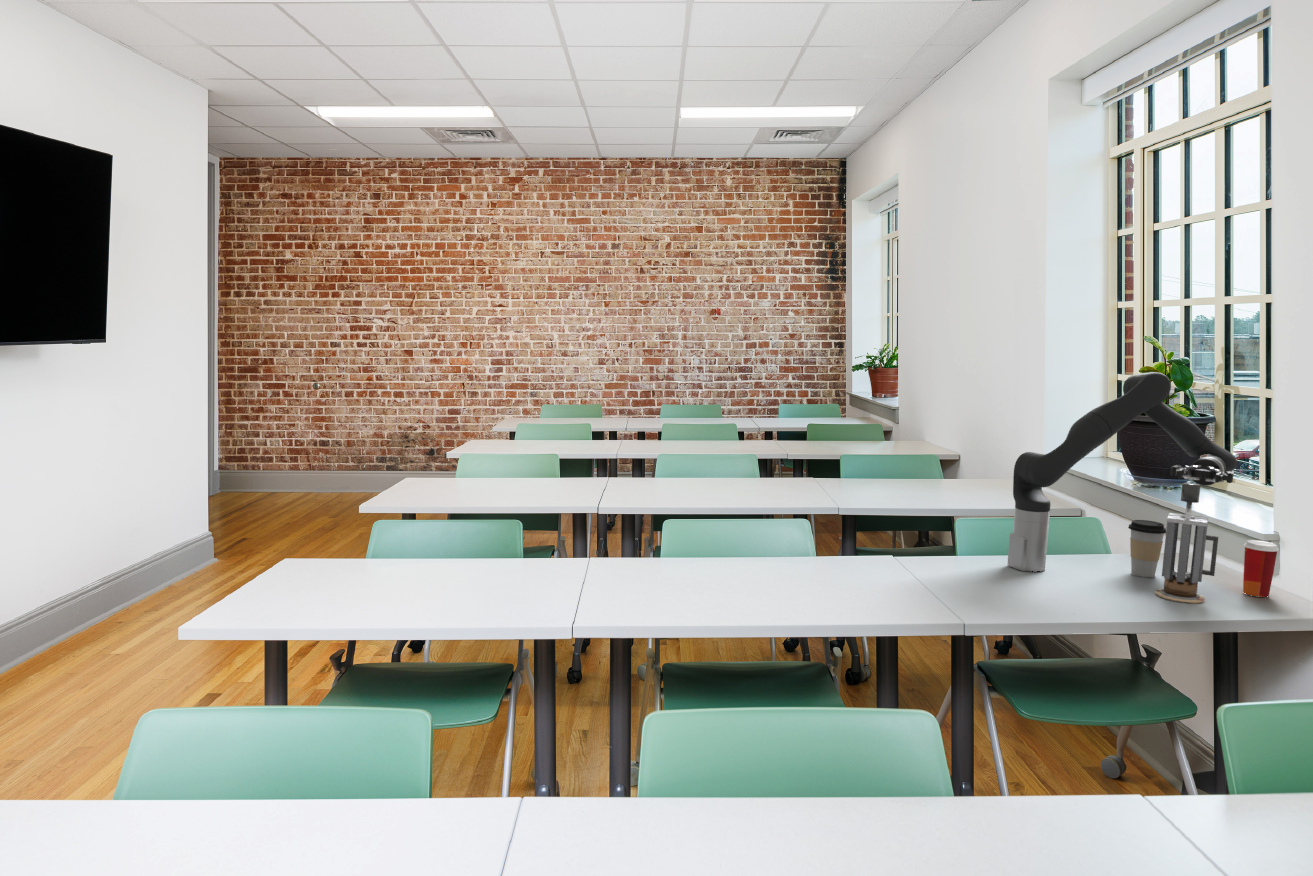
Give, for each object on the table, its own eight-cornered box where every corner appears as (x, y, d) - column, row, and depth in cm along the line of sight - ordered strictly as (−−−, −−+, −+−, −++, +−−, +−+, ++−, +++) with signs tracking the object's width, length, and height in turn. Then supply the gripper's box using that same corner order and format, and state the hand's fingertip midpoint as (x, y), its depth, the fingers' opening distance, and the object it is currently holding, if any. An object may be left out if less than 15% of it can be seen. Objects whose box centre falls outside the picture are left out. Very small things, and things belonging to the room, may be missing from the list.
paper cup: (1267, 592, 233) (1274, 541, 232) (1277, 600, 226) (1283, 547, 225) (1234, 589, 236) (1239, 538, 234) (1242, 596, 229) (1248, 544, 227)
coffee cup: (1166, 580, 243) (1172, 527, 241) (1130, 577, 244) (1135, 525, 243) (1154, 571, 252) (1159, 520, 250) (1119, 569, 254) (1124, 518, 252)
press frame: (1153, 597, 225) (1161, 517, 223) (1157, 588, 234) (1164, 511, 232) (1210, 607, 218) (1219, 525, 216) (1212, 597, 227) (1220, 518, 225)
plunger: (1182, 579, 222) (1192, 486, 220) (1162, 573, 228) (1172, 482, 225) (1200, 578, 224) (1210, 486, 221) (1181, 572, 230) (1190, 481, 227)
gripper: (1179, 454, 248) (1169, 459, 236) (1239, 460, 239) (1231, 465, 227) (1176, 480, 249) (1166, 486, 237) (1235, 487, 240) (1228, 494, 228)
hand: (1198, 476), depth 232 cm, fingers open, 8 cm apart
